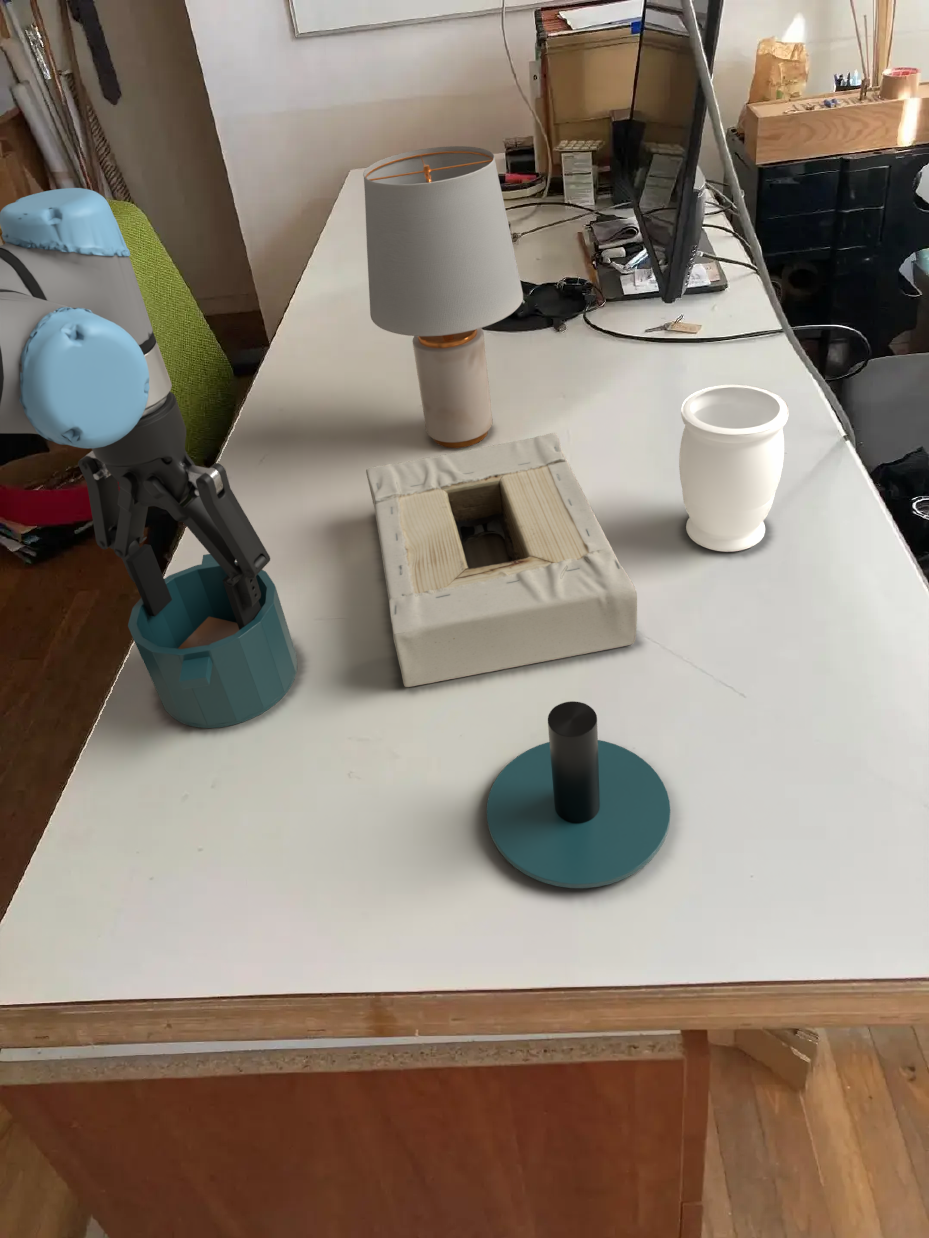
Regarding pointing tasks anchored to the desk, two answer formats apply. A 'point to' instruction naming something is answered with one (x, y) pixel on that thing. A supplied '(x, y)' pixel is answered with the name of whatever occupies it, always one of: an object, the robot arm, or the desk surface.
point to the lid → (578, 806)
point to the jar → (731, 463)
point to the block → (210, 632)
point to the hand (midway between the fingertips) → (205, 617)
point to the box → (496, 562)
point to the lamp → (442, 276)
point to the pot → (215, 651)
